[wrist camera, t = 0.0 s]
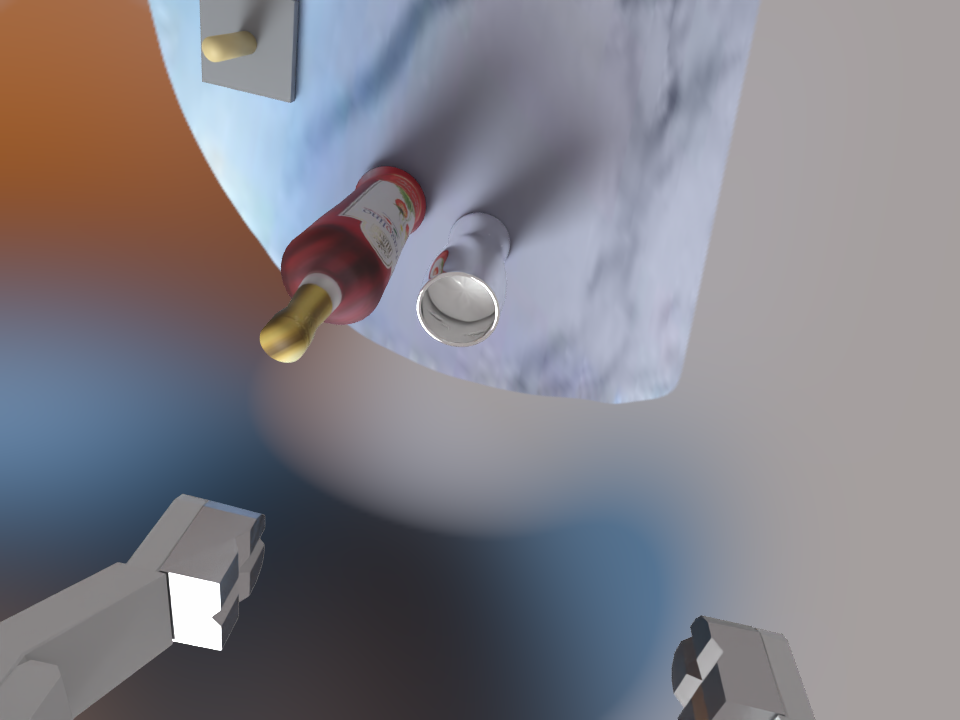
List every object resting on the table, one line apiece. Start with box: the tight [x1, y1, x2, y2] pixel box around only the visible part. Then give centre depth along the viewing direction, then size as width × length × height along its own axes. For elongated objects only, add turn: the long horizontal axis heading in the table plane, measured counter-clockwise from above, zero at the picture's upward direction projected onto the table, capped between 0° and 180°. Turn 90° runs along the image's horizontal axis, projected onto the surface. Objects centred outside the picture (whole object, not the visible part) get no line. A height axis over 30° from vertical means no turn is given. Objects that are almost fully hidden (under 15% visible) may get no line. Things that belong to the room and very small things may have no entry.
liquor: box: [260, 166, 426, 362], centre depth 48 cm, size 7×7×28 cm
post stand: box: [200, 0, 299, 103], centre depth 51 cm, size 8×8×7 cm
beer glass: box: [417, 213, 510, 347], centre depth 55 cm, size 7×7×15 cm
